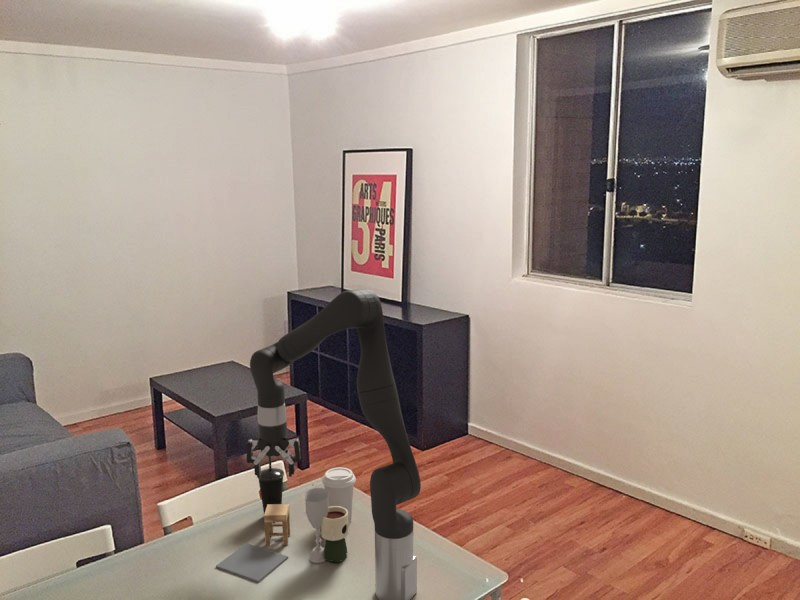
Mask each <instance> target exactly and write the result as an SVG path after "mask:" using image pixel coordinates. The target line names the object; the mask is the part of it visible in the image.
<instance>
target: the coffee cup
mask: <svg viewBox="0 0 800 600" xmlns="http://www.w3.org/2000/svg"><path fill="white" fill-rule="evenodd" d="M356 480H357V478H356V476H355V474H354V473H353V470H352V469H349V468H347V467H331V468H329V469H328V470H326V471H325V473H324V475H323V476H322V480H321V482H322V484H323V485H324V489H326V490H328V491H329V492H330V495H329V498H328V507H331V506H340V507H343V508H345V509H346V510H347V511H348V526H349V525H350V524H351V523H352V515H353V503H354V502H353V500H354V486H355V482H356Z"/></svg>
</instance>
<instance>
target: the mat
mask: <svg viewBox="0 0 800 600" xmlns="http://www.w3.org/2000/svg"><path fill="white" fill-rule="evenodd" d="M288 559H289V556H288V555H285V554H282V553H279V552H275V551H272V550H269V549H267V548H264V547H260V546H257V545H254V544H252V543H247V542H246V543H245V544H243V545H242V546H241V547H239V548H237V550H235V551H234V552H232V553H231V554H230V555H229V556H227V557H226V558H224V559H223V560H222V561H220V562H219V563H218V564H216V565H215V568H216V569H219V570H222V571H225V572H228V573H231V574H233V575H236V576H239V577H242V578H244V579H247V580H250V581H253V582H255V583H258V584H259V583H260V582H261V581H263V580H264V579H266V578H267V577H268V576H269V575H270V574H272V573H273V571H275V570H276V569H277V568H278V567H279V566H281V565H282V564H283V563H285V561H287V560H288Z"/></svg>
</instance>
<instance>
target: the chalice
mask: <svg viewBox="0 0 800 600" xmlns="http://www.w3.org/2000/svg"><path fill="white" fill-rule="evenodd" d="M329 495H330V492H329V491H328V490H326V489H325V488H322V487H316V488H311V489H308V490H307V491H305V492H304V493H303V495H302V497H303V499H304V501H305V514H306V517H307V519H308V522H309V524H310V525H311V527H312V528H313V529H315V534H314V536H315V537H316V539H315V541H314V542H315V543H316V546H315V547H313V548H312V549H311V552H310V556H309V560H310V562H311V563H315V564H317V563H318V564H320V563H323V562H326V561H327V560H326V559H325V558H324V546H322V545H321V542H322V538H321V536H322V532H321V531H320V530H321V525H322V520H323V517H326V518H327V515H328V511H329V508H328V498H329Z"/></svg>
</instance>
